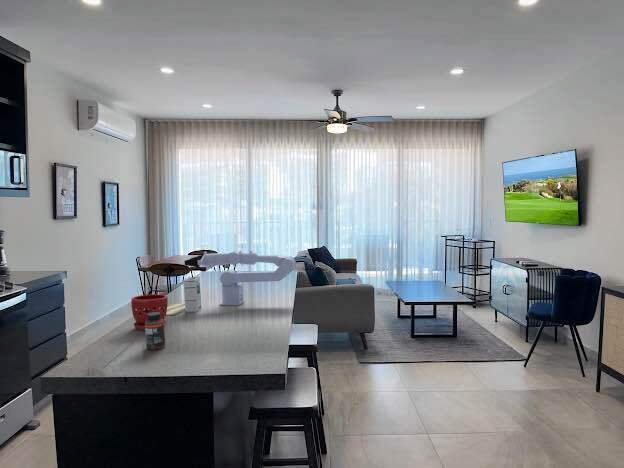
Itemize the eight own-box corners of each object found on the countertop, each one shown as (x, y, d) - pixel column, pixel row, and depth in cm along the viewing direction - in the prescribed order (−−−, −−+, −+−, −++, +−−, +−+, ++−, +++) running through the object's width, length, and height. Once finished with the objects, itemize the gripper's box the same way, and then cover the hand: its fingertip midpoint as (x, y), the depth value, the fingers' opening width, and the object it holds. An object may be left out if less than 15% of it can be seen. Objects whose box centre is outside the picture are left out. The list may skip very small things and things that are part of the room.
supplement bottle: (159, 343, 153) (157, 310, 153) (169, 346, 149) (167, 312, 149) (142, 348, 149) (140, 314, 148) (152, 351, 145) (150, 316, 144)
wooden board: (195, 305, 213) (194, 304, 213) (174, 315, 193) (173, 314, 193) (171, 305, 215) (171, 303, 215) (148, 315, 196) (148, 313, 196)
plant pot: (157, 332, 168) (155, 300, 167) (125, 331, 171) (123, 299, 170) (175, 323, 181) (173, 293, 180) (145, 322, 183) (143, 293, 183)
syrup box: (198, 311, 199) (196, 278, 198) (184, 312, 200) (183, 279, 199) (201, 308, 205) (200, 276, 204) (188, 309, 205) (187, 277, 204)
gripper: (219, 249, 220) (192, 251, 221) (210, 252, 205) (181, 255, 207) (220, 263, 220) (193, 265, 222) (211, 268, 206) (182, 270, 207)
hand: (187, 261), depth 214 cm, fingers open, 7 cm apart
